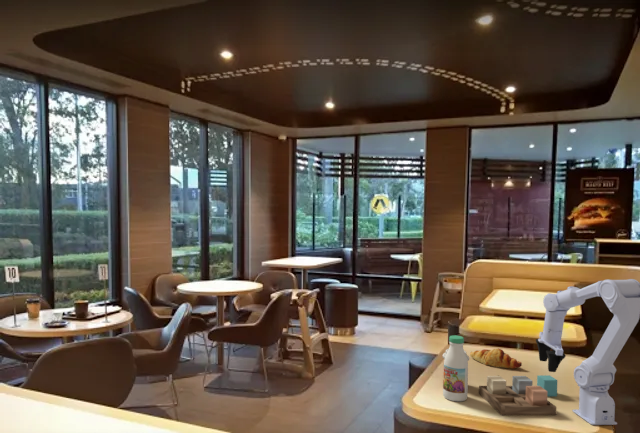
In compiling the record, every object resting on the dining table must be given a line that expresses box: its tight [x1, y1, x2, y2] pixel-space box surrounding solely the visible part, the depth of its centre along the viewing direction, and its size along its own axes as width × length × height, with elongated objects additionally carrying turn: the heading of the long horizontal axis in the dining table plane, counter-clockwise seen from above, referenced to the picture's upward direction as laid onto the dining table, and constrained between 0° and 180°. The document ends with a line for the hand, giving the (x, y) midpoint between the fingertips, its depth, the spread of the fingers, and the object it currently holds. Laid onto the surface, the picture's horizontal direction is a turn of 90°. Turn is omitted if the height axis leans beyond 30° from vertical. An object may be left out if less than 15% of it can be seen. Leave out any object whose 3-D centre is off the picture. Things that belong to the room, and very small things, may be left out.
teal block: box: [536, 374, 558, 397], centre depth 158 cm, size 4×4×6 cm
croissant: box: [469, 348, 523, 370], centre depth 188 cm, size 21×10×8 cm, turn 48°
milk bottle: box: [442, 334, 469, 402], centre depth 153 cm, size 8×8×20 cm
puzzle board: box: [478, 375, 557, 416], centre depth 149 cm, size 17×17×6 cm
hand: (547, 366), depth 158 cm, fingers open, 7 cm apart
